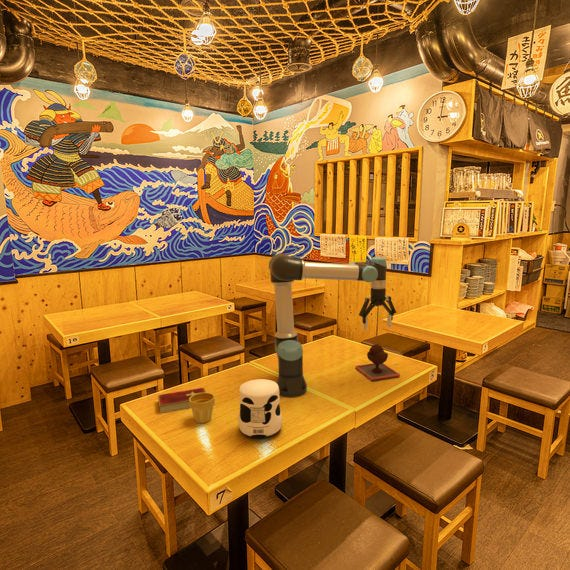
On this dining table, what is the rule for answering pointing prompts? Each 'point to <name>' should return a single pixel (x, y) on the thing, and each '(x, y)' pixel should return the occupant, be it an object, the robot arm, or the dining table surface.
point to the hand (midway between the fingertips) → (377, 328)
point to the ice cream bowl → (377, 357)
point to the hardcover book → (177, 400)
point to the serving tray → (386, 373)
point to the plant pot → (202, 406)
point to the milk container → (259, 408)
